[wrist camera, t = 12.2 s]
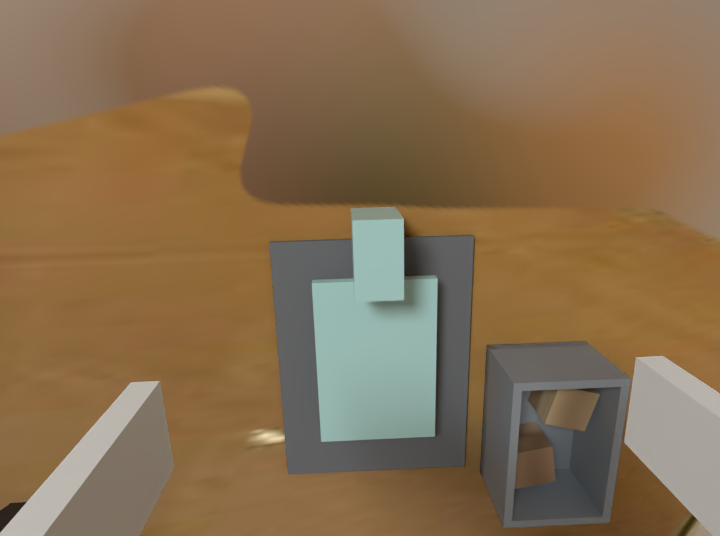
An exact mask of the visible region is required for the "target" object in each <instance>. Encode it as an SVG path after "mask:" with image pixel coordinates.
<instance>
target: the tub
mask: <svg viewBox="0 0 720 536" xmlns="http://www.w3.org/2000/svg"><path fill="white" fill-rule="evenodd" d="M630 382H631V378H630V377H629V376H627V375H626V374H625V373H624V372H622V371H621V370H620V369H619V368H618V367H616V366H615V365H614V364H613V363H611V362H610V361H609V360H608V359H607V358H605V357H604V356H603V355H602V354H601V353H599V352H598V351H597V350H596V349H594V348H593V347H592V346H591V345H590V344H588V343H587V342H586V341H577V342H551V343H526V344H501V345H487V350H486V369H485V388H484V407H483V426H482V445H481V464H480V473H481V475H482V478H483V480H484V483H485V485H486V487H487V490H488V492H489V495H490V497H491V499H492V502H493V504H494V507H495V509H496V511H497V514H498V516H499V519H500V521H501V524H502V526H503V528H519V527H539V526H558V525H578V524H598V523H610V517H611V510H612V503H613V496H614V490H615V483H616V476H617V469H618V463H619V456H620V449H621V443H622V436H623V429H624V422H625V416H626V409H627V402H628V395H629V389H630ZM582 388H594V389H595V390H596V391H597V392H598V393H599V394H600V396H599V398H598V401H597V403H596V405H595V408H594V410H593V412H592V415H591V417H590V420H589V422H588V424H587V427H586V429H585V431H580V430H574V429H569V428H564V427H559V426H554V425H549V424H545V423H544V422H543V421H542V419H541V418H540V416H539V415H538V414H537V412H536V411H535V409H534V408H533V407H532V405H531V404H530V402H529V401H528V398H529V396H530V393H531V391H535V390H559V389H582ZM530 422H536V423H537V425H538V426H539V428H540V429H541V431H542V432H543V434H544V435H545V436H546V438H547V439H548V441H549V442H550V444H551V445H552V448H553V457H554V467H555V477H556V481H554V482H549V483H544V484H538V485H533V486H528V487H523V488H518V489H515V476H516V463H517V450H518V438H519V425H520V424H525V423H530Z"/></svg>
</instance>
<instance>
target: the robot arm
mask: <svg viewBox="0 0 720 536" xmlns="http://www.w3.org/2000/svg"><path fill="white" fill-rule="evenodd" d="M624 443H625V444H626V445H627V446H628V447H629V448H630V449H631V450H632V451H633V452H634V453H635V454H636V456H637V457H638V458H639V459H640V460H641V461H642V462H643V463H644V464H645V465H646V466H647V467H648V468H649V469H650V470H651V471H652V472H653V473H654V474H655V475H656V477H657V478H658V479H659V480H660V481H661V482H662V483H663V484H664V485H665V486H666V487H667V488H668V489H669V490H670V491H671V492H672V493H673V494H674V495H675V497H676V498H677V499H678V500H679V501H680V502H681V503H682V504H683V505H684V506H685V507H686V508H687V509H688V510H689V511H690V512H691V513H692V514H693V515H694V516H695V518H696V519H697V520H698V521H699V522H700V523H701V524H702V525H703V526H704V527H705V528H706V529H707V530H708V531H709V532H710V533H711V534H712V535H713V536H720V393H718V392H717V391H715V390H714V389H712V388H711V387H709V386H708V385H706V384H705V383H703V382H702V381H700V380H699V379H697V378H696V377H694V376H693V375H691V374H689V373H688V372H686V371H685V370H683V369H682V368H680V367H679V366H677V365H676V364H674V363H673V362H671V361H670V360H668V359H667V358H665V357H664V356H653V357H636V362H635V369H634V376H633V383H632V390H631V397H630V404H629V411H628V419H627V426H626V433H625V440H624ZM173 469H174V464H173V458H172V452H171V446H170V439H169V433H168V427H167V421H166V415H165V409H164V403H163V397H162V391H161V385H160V381H152V382H132V383H130V384H129V385H128V387H127V388H126V389H125V390H124V391H123V392H122V394H121V395H120V396H119V397H118V398H117V399H116V400H115V402H114V403H113V404H112V405H111V406H110V407H109V408H108V410H107V411H106V412H105V413H104V414H103V415H102V416H101V418H100V419H99V420H98V421H97V422H96V423H95V425H94V426H93V427H92V428H91V429H90V430H89V431H88V433H87V434H86V435H85V436H84V437H83V438H82V439H81V441H80V442H79V443H78V444H77V445H76V446H75V447H74V449H73V450H72V451H71V452H70V453H69V454H68V456H67V457H66V458H65V459H64V460H63V461H62V462H61V464H60V465H59V466H58V467H57V468H56V469H55V470H54V472H53V473H52V474H51V475H50V476H49V477H48V478H47V480H46V481H45V482H44V483H43V484H42V485H41V487H40V488H39V489H38V490H37V491H36V492H35V493H34V495H33V496H32V497H31V498H30V499H29V500H28V501H27V502H22V503H10V504H9V505H8V506H6V507H5V508H3V509H2V510H1V511H0V536H140V534H141V532H142V530H143V528H144V526H145V524H146V522H147V520H148V518H149V516H150V514H151V512H152V510H153V508H154V506H155V504H156V503H157V501H158V499H159V497H160V495H161V493H162V491H163V489H164V487H165V485H166V483H167V481H168V479H169V477H170V475H171V473H172V471H173Z"/></svg>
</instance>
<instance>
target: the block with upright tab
mask: <svg viewBox="0 0 720 536" xmlns="http://www.w3.org/2000/svg"><path fill="white" fill-rule="evenodd" d="M351 229H352V259H353V278H350V279H324V280H312V297H313V313H314V330H315V347H316V363H317V380H318V397H319V413H320V430H321V442H330V441H351V440H372V439H393V438H414V437H435V402H436V345H437V289H438V278H437V277H436V275H429V276H404V218H403V217H402V216H401V215H400V213H399V212H398V211H397V209H396V208H395V207H378V208H351Z"/></svg>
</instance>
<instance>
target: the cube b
mask: <svg viewBox="0 0 720 536" xmlns="http://www.w3.org/2000/svg"><path fill="white" fill-rule="evenodd" d="M599 396H600V394H599V393H598V392H597V391H596V390H595V389H594V388H582V389H559V390H535V391H531V393H530V396H529V398H528V401H529V402H530V404H531V405H532V407H533V408H534V409H535V411H536V412H537V414H538V415H539V416H540V418H541V419H542V421H543V422H544V423H545V424H549V425H554V426H559V427H564V428H569V429H574V430H580V431H585V429H586V427H587V424H588V422H589V420H590V417H591V415H592V412H593V410H594V408H595V405H596V403H597V401H598V398H599Z"/></svg>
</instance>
